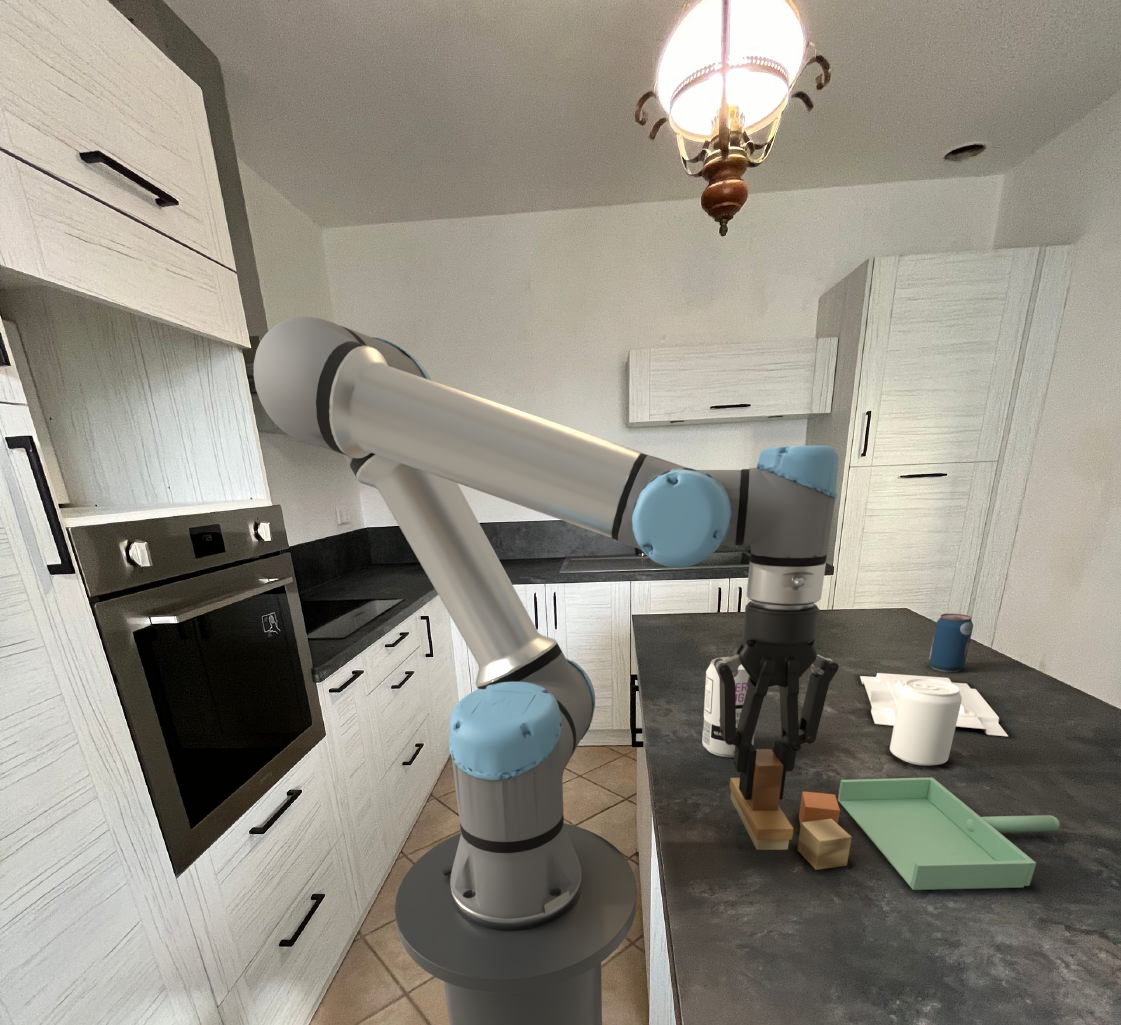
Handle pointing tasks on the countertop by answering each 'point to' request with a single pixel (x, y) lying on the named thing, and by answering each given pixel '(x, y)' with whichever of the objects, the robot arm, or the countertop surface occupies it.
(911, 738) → the beverage can
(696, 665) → the countertop surface
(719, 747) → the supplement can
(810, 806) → the chunk
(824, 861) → the chunk
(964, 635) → the soda can
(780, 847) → the brush
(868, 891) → the countertop surface
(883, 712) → the tray
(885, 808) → the dustpan
